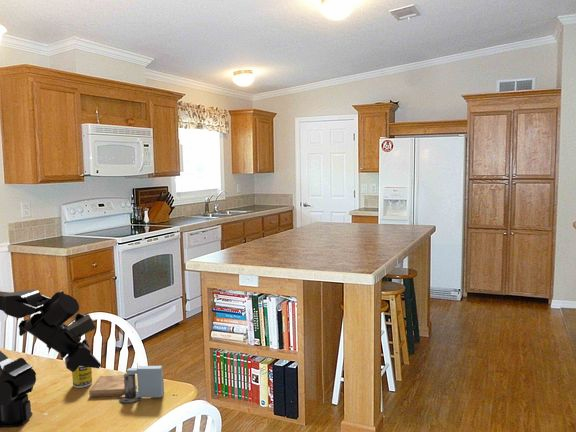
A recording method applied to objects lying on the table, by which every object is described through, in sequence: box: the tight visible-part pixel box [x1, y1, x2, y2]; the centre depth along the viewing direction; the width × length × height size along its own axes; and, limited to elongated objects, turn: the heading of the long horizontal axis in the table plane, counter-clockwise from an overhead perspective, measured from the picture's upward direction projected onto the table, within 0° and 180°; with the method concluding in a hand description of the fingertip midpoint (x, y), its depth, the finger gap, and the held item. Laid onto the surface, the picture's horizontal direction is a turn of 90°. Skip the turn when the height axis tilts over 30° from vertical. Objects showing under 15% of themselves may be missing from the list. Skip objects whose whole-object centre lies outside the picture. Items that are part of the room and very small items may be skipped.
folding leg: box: [126, 365, 164, 398], centre depth 140 cm, size 9×2×8 cm, turn 89°
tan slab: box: [88, 372, 143, 404], centre depth 144 cm, size 15×15×7 cm
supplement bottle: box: [71, 366, 93, 389], centre depth 150 cm, size 5×5×10 cm
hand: (99, 366), depth 132 cm, fingers closed
